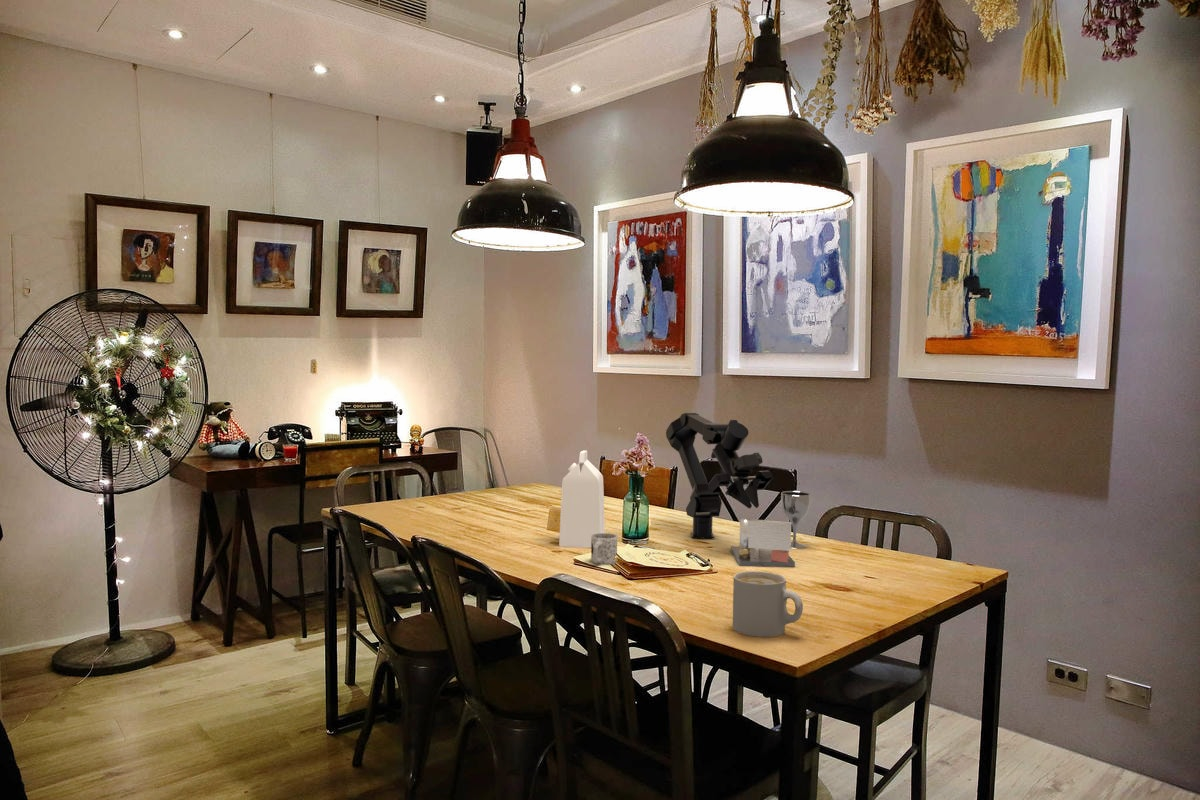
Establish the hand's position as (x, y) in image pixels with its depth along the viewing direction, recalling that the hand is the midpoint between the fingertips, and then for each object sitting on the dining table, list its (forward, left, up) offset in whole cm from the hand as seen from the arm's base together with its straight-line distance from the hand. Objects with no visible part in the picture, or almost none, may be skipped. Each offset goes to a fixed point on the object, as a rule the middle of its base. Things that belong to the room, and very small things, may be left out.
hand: (754, 507), depth 218 cm
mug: (+10, -40, -13) cm, 44 cm away
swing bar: (+8, +2, -9) cm, 12 cm away
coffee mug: (+61, -7, -13) cm, 63 cm away
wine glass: (-14, +14, -13) cm, 23 cm away
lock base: (+3, +2, -13) cm, 14 cm away
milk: (-13, -46, -13) cm, 50 cm away
